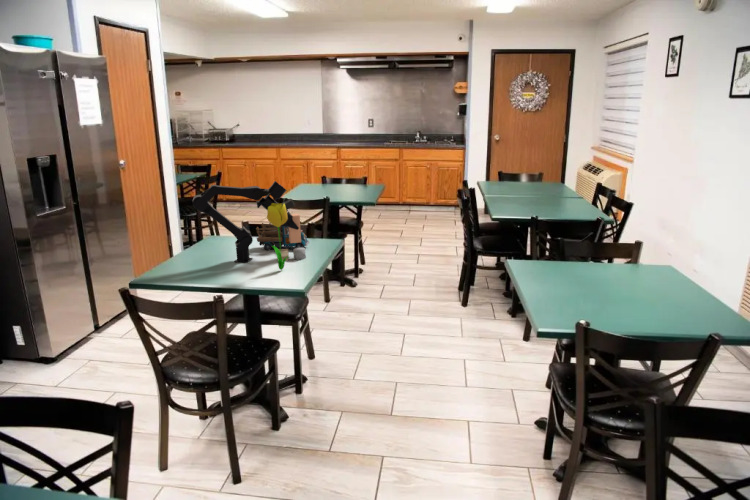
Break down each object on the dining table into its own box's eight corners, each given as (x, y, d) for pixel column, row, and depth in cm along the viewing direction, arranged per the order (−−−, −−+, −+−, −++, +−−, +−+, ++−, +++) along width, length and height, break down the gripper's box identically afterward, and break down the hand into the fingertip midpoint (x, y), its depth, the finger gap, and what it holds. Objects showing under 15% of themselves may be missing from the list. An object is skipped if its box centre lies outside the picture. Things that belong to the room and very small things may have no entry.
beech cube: (287, 260, 248) (287, 251, 247) (278, 261, 248) (277, 251, 247) (288, 258, 252) (288, 248, 251) (279, 258, 252) (278, 249, 251)
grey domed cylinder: (303, 260, 248) (302, 250, 247) (292, 259, 249) (291, 250, 248) (307, 256, 253) (306, 247, 252) (296, 256, 255) (295, 247, 253)
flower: (293, 268, 236) (288, 201, 228) (288, 273, 228) (284, 205, 220) (274, 267, 237) (269, 201, 229) (269, 273, 229) (263, 205, 221)
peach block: (290, 243, 251) (289, 216, 248) (289, 240, 256) (287, 214, 253) (301, 242, 253) (299, 215, 249) (299, 240, 257) (298, 213, 254)
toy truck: (306, 251, 264) (304, 221, 260) (257, 251, 265) (254, 221, 261) (310, 245, 274) (308, 216, 270) (263, 245, 276) (260, 217, 272)
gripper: (286, 196, 238) (312, 218, 245) (281, 190, 256) (305, 211, 262) (270, 215, 238) (296, 237, 244) (265, 208, 256) (290, 228, 262)
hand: (297, 227), depth 253 cm, fingers closed on peach block, 5 cm apart
